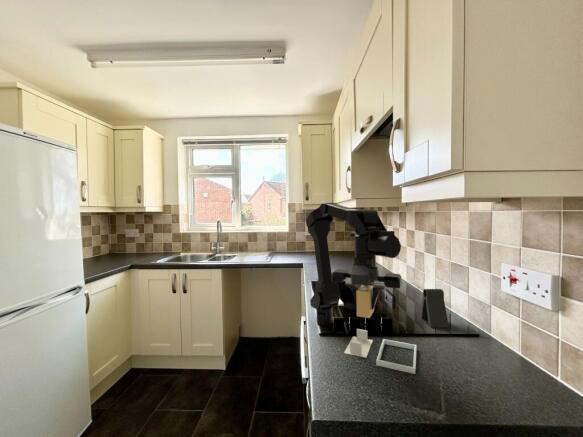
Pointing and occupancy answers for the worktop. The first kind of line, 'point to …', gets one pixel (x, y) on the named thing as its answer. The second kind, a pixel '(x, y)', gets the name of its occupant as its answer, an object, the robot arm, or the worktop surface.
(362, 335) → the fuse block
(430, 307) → the phone stand
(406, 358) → the worktop surface
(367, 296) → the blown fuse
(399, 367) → the parts tray
